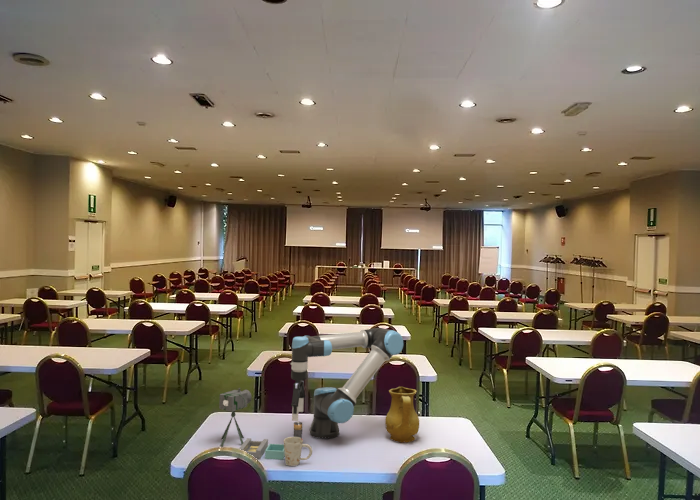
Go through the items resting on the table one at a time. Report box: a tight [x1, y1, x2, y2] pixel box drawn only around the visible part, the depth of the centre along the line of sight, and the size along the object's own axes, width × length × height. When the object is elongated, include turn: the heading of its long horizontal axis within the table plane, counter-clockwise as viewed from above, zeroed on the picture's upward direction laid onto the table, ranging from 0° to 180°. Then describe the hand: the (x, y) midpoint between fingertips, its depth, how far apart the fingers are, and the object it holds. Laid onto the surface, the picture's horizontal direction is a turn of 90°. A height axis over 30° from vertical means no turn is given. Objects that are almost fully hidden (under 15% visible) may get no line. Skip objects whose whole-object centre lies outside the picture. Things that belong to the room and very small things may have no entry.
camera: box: [218, 387, 252, 447], centre depth 233 cm, size 16×16×25 cm
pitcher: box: [384, 385, 420, 444], centre depth 242 cm, size 17×19×25 cm
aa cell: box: [292, 420, 303, 439], centre depth 226 cm, size 4×4×13 cm
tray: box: [264, 443, 285, 461], centre depth 217 cm, size 8×8×4 cm
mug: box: [283, 436, 313, 467], centre depth 210 cm, size 8×13×10 cm, turn 95°
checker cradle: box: [238, 437, 269, 460], centre depth 220 cm, size 10×14×4 cm
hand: (297, 416), depth 226 cm, fingers open, 13 cm apart
